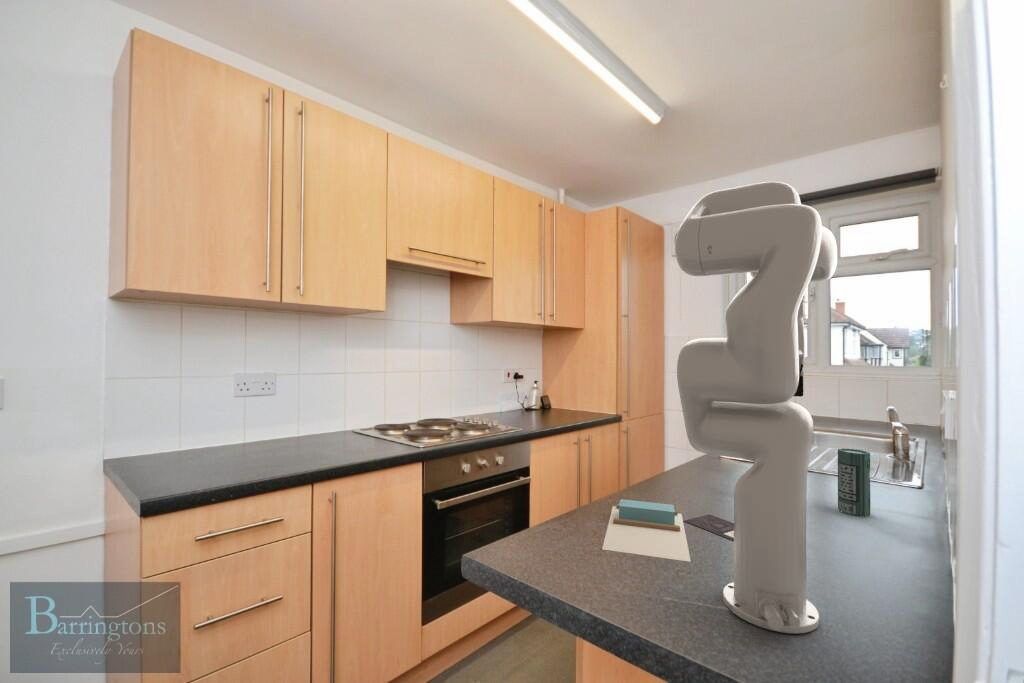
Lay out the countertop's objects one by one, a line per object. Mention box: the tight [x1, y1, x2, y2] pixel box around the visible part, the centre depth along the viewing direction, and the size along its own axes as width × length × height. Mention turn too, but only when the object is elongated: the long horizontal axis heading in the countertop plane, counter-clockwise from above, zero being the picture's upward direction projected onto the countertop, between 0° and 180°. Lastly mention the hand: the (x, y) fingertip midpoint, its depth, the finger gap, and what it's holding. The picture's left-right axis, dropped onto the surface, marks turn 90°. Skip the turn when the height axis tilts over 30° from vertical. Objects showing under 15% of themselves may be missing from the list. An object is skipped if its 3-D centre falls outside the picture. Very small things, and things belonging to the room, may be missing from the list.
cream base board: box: [601, 503, 692, 563], centre depth 97 cm, size 26×16×1 cm, turn 163°
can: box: [837, 448, 871, 518], centre depth 112 cm, size 6×6×15 cm
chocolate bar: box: [683, 514, 734, 542], centre depth 97 cm, size 9×1×18 cm
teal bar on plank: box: [618, 499, 675, 525], centre depth 104 cm, size 12×5×3 cm, turn 73°
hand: (786, 394), depth 94 cm, fingers open, 9 cm apart
